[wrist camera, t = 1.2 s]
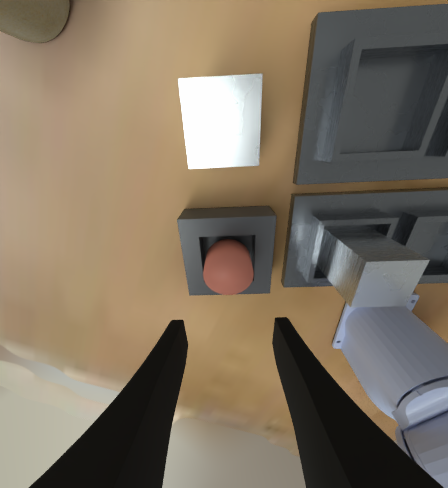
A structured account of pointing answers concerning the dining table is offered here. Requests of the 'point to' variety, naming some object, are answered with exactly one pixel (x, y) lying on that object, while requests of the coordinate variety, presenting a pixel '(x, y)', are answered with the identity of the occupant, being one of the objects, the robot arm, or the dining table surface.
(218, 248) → the button
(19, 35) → the flower pot
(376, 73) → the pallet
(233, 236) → the box
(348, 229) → the billet
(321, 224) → the pallet
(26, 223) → the dining table surface
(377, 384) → the robot arm
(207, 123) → the billet
